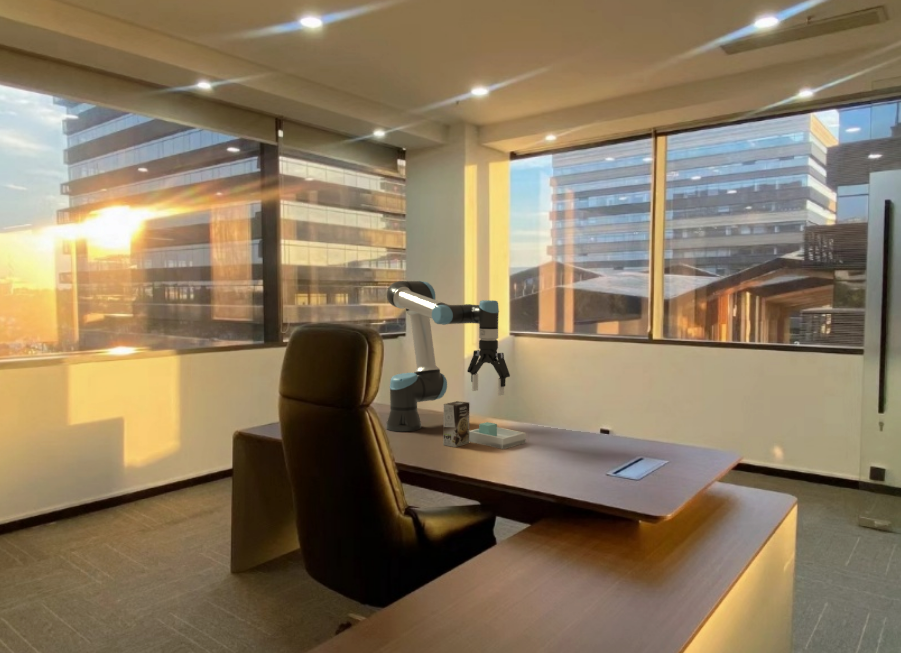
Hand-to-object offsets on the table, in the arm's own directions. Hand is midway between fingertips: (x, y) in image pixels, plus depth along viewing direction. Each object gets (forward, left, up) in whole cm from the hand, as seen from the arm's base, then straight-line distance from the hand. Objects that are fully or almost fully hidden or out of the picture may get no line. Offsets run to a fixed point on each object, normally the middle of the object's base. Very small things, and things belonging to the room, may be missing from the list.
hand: (487, 392), depth 249 cm
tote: (+5, 0, -19) cm, 20 cm away
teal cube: (0, 0, -18) cm, 18 cm away
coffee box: (-4, -14, -19) cm, 24 cm away
